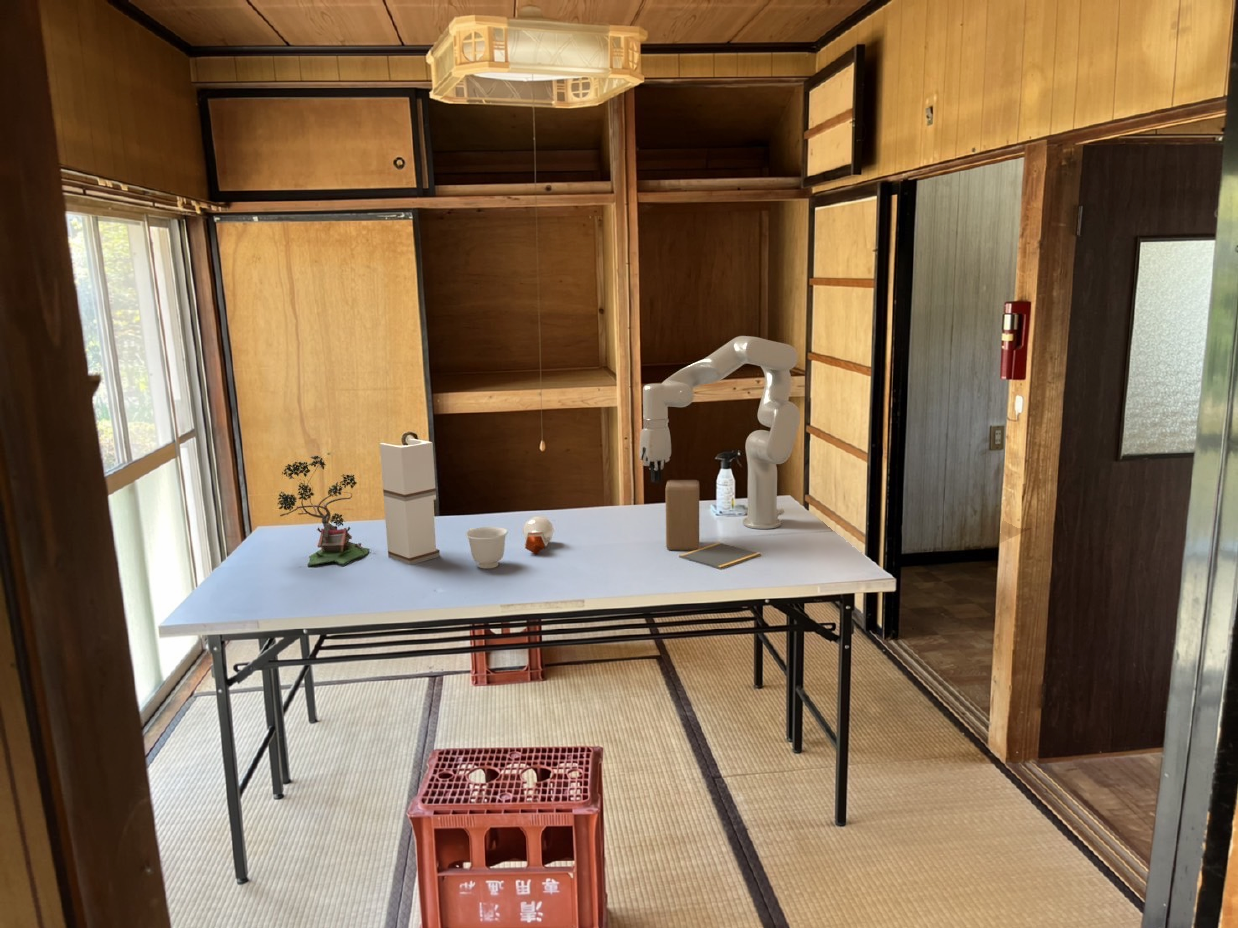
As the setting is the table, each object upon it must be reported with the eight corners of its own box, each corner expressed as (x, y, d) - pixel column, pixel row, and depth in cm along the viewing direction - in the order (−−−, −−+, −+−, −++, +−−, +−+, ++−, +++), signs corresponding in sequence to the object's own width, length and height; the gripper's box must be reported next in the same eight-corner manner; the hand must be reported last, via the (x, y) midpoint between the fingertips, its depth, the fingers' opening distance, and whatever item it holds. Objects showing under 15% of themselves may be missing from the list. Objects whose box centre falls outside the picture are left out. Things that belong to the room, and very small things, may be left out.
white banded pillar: (439, 556, 261) (432, 442, 254) (409, 564, 254) (401, 447, 247) (418, 549, 269) (410, 438, 262) (388, 557, 261) (379, 443, 254)
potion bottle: (544, 544, 276) (540, 564, 262) (519, 528, 274) (513, 547, 260) (560, 522, 274) (557, 541, 260) (534, 505, 272) (530, 523, 258)
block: (699, 541, 271) (699, 479, 267) (699, 551, 261) (698, 486, 257) (667, 541, 272) (666, 479, 268) (666, 550, 262) (665, 486, 258)
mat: (719, 544, 267) (719, 542, 267) (760, 555, 255) (760, 553, 255) (679, 557, 255) (679, 555, 255) (720, 569, 244) (720, 567, 243)
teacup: (487, 554, 262) (485, 522, 260) (517, 565, 251) (516, 531, 249) (453, 563, 254) (451, 531, 252) (483, 575, 243) (481, 540, 241)
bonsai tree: (300, 545, 275) (290, 448, 269) (377, 543, 276) (369, 446, 270) (257, 582, 241) (245, 471, 235) (345, 579, 242) (335, 469, 235)
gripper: (664, 420, 275) (664, 476, 278) (629, 425, 265) (630, 484, 269) (681, 422, 269) (681, 479, 273) (646, 428, 260) (647, 487, 263)
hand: (656, 481), depth 271 cm, fingers closed
